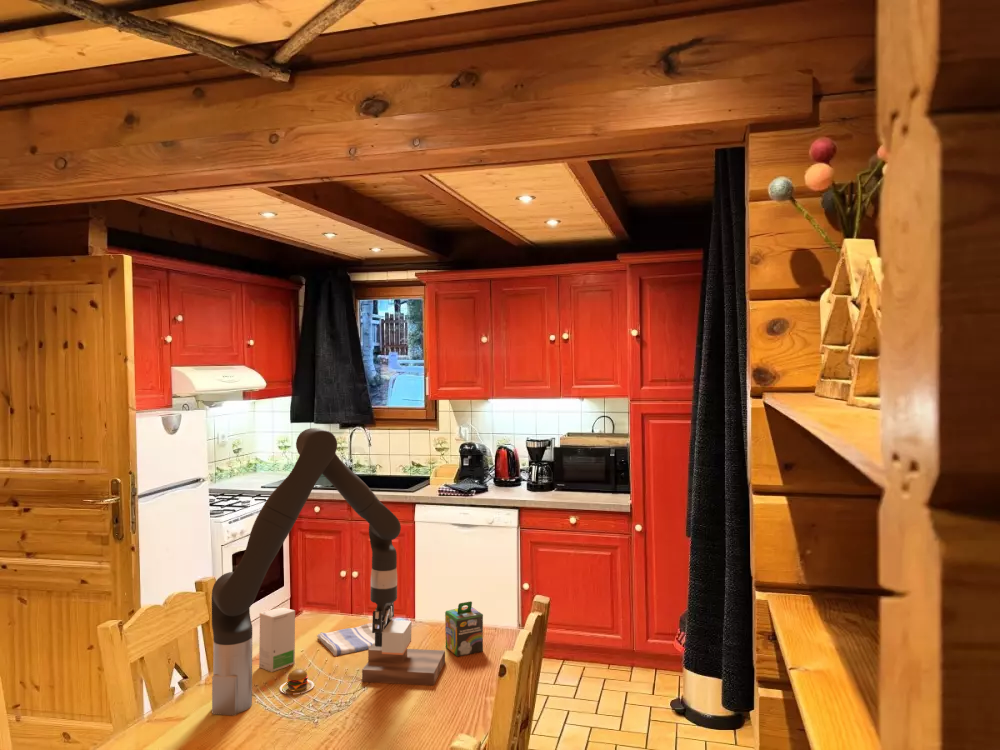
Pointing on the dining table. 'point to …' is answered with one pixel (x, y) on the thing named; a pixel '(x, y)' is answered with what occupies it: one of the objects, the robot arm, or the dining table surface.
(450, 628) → the chalk box
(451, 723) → the dining table surface
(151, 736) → the dining table surface
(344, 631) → the dish towel
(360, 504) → the robot arm
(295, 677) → the hamburger
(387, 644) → the brick
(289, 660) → the skincare box
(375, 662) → the step stand
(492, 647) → the dining table surface
